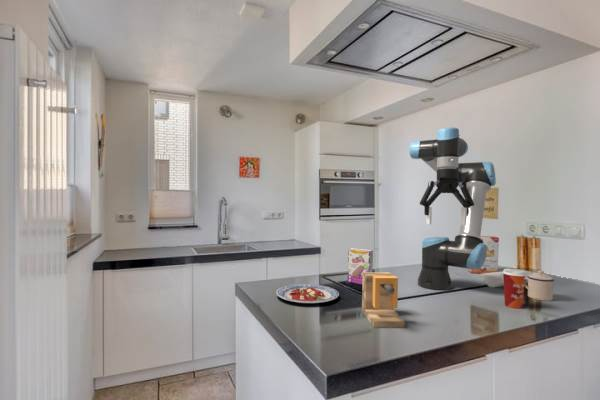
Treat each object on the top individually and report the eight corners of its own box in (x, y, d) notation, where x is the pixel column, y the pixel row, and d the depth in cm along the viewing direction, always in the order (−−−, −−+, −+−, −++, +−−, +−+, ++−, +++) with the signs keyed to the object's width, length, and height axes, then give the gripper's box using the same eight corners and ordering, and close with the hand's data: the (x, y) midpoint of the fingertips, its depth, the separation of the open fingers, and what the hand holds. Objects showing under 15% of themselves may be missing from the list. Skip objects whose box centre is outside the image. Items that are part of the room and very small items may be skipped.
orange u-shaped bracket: (372, 305, 111) (373, 275, 111) (394, 305, 111) (394, 275, 111) (374, 308, 108) (375, 278, 108) (397, 308, 108) (397, 278, 108)
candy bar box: (347, 282, 160) (347, 249, 160) (351, 280, 164) (351, 247, 164) (369, 286, 154) (369, 251, 154) (372, 284, 158) (373, 250, 158)
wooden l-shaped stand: (361, 310, 120) (362, 272, 120) (388, 310, 121) (389, 272, 121) (374, 329, 103) (375, 284, 103) (406, 329, 104) (407, 285, 103)
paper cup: (517, 310, 123) (518, 273, 123) (497, 304, 130) (498, 269, 130) (529, 307, 127) (530, 271, 127) (509, 301, 133) (509, 267, 133)
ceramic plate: (267, 292, 142) (268, 285, 142) (320, 286, 153) (320, 280, 153) (290, 311, 119) (290, 303, 119) (351, 303, 129) (351, 295, 129)
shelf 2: (543, 284, 163) (543, 274, 163) (502, 290, 151) (502, 279, 151) (520, 279, 173) (520, 269, 173) (480, 284, 162) (480, 273, 162)
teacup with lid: (558, 300, 137) (559, 272, 137) (543, 302, 134) (543, 273, 134) (530, 292, 148) (531, 266, 148) (515, 293, 145) (516, 267, 145)
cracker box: (471, 273, 184) (472, 236, 184) (467, 271, 190) (468, 235, 190) (498, 274, 182) (499, 237, 182) (493, 272, 188) (494, 236, 188)
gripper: (419, 167, 121) (418, 224, 121) (485, 168, 122) (483, 225, 123) (411, 169, 129) (410, 223, 129) (473, 170, 130) (472, 223, 130)
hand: (446, 224), depth 126 cm, fingers open, 13 cm apart
